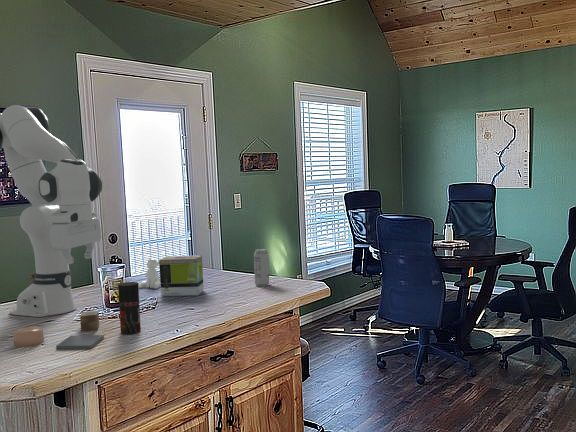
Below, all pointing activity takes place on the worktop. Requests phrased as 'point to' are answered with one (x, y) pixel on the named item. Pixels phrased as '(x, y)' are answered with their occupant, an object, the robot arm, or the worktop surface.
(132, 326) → the deodorant
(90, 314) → the walnut block
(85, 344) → the slate coaster
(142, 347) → the worktop surface
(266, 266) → the energy drink can
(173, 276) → the tea box
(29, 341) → the soap bar
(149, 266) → the seated beast figurine
